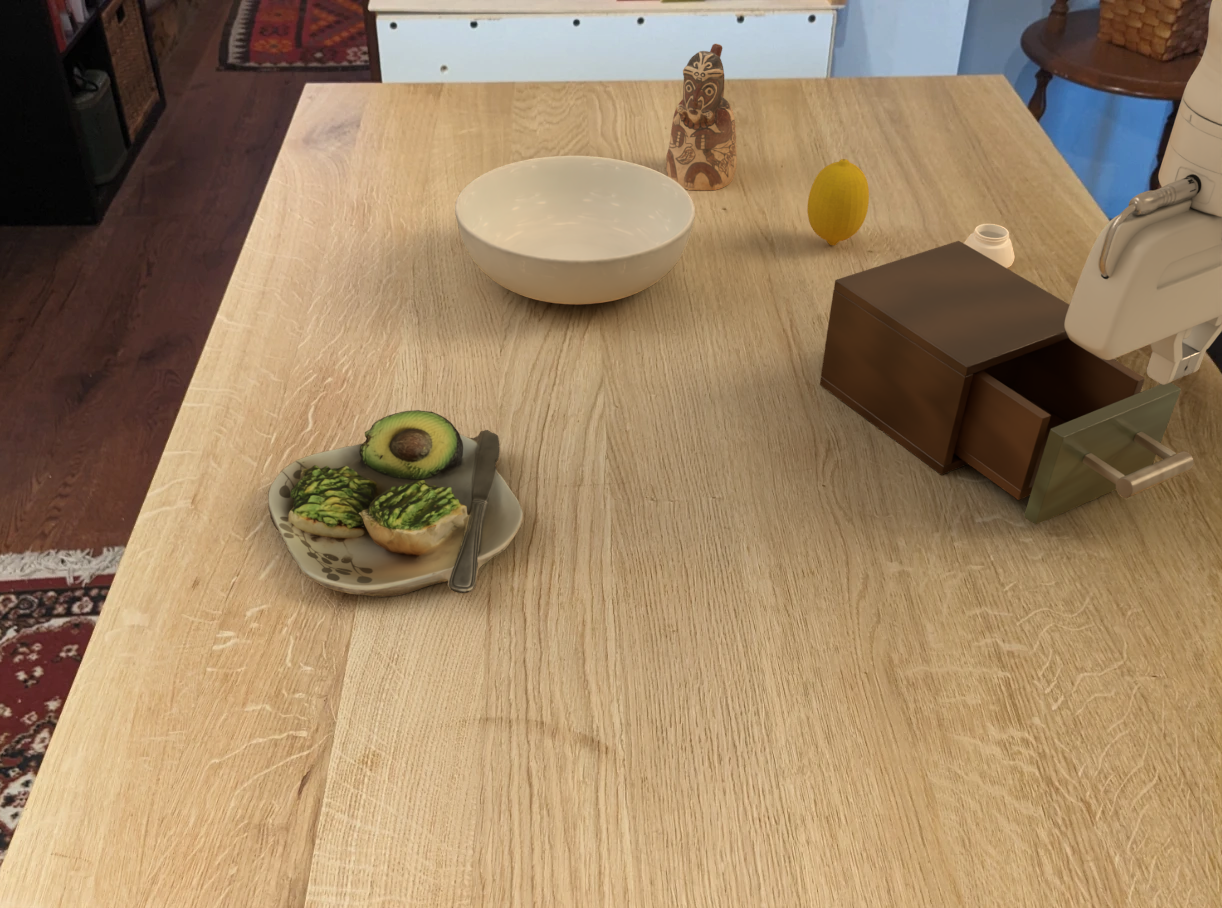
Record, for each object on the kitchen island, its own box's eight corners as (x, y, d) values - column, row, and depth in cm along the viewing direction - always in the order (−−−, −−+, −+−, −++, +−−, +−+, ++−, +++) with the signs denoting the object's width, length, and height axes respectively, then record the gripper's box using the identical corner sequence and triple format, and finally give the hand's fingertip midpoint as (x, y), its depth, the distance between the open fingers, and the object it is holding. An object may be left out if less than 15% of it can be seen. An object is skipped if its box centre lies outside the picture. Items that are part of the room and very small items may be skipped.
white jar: (1023, 262, 118) (978, 244, 121) (1031, 232, 116) (985, 213, 119) (991, 280, 116) (946, 260, 118) (998, 249, 114) (952, 230, 116)
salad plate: (580, 580, 87) (580, 525, 83) (323, 651, 82) (312, 596, 78) (483, 431, 99) (479, 378, 95) (255, 485, 94) (242, 432, 91)
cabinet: (1063, 426, 100) (1096, 319, 93) (941, 475, 95) (967, 366, 88) (936, 343, 108) (958, 240, 102) (819, 384, 104) (834, 279, 97)
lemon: (845, 227, 123) (858, 143, 117) (871, 253, 119) (886, 168, 114) (793, 236, 122) (803, 151, 116) (817, 262, 118) (829, 176, 112)
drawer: (1197, 507, 91) (1235, 419, 86) (1083, 560, 87) (1115, 471, 82) (1017, 390, 101) (1040, 305, 96) (907, 432, 97) (925, 345, 92)
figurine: (652, 179, 130) (656, 53, 122) (689, 155, 134) (695, 32, 126) (712, 196, 128) (721, 69, 119) (747, 172, 132) (758, 47, 123)
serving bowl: (652, 353, 107) (655, 276, 102) (423, 312, 111) (416, 236, 106) (717, 244, 120) (722, 171, 115) (510, 212, 125) (507, 140, 120)
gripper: (1164, 225, 67) (1092, 448, 77) (1409, 138, 74) (1314, 352, 84) (1074, 181, 70) (1017, 399, 80) (1316, 102, 78) (1235, 311, 88)
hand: (1170, 374), depth 82 cm, fingers closed
